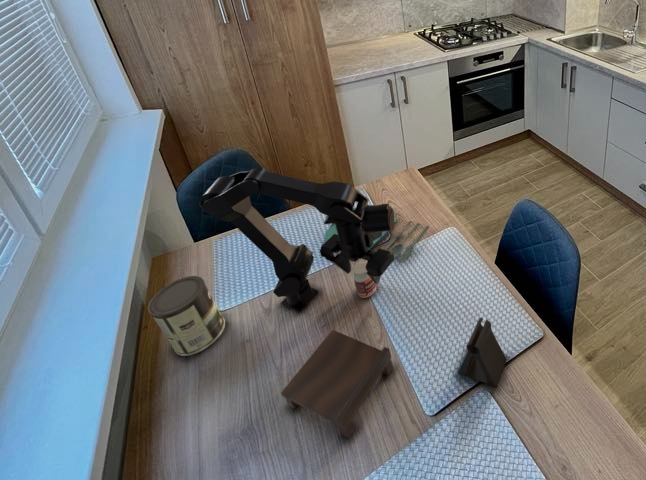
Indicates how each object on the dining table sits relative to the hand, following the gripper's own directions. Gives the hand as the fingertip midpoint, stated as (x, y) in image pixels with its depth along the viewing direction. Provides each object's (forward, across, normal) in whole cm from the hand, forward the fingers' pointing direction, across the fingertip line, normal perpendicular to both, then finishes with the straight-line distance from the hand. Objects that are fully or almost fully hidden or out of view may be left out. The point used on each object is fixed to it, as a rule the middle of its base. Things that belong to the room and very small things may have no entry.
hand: (363, 277), depth 104 cm
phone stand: (+5, -37, +7) cm, 38 cm away
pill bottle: (+5, 0, 0) cm, 5 cm away
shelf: (+5, -11, +21) cm, 24 cm away
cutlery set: (+5, +11, -17) cm, 20 cm away
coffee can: (+5, +30, +24) cm, 39 cm away
